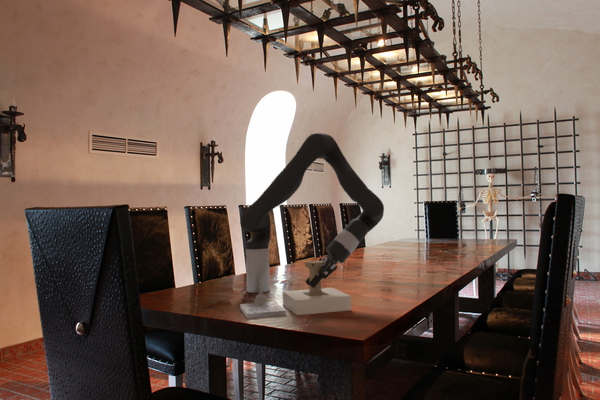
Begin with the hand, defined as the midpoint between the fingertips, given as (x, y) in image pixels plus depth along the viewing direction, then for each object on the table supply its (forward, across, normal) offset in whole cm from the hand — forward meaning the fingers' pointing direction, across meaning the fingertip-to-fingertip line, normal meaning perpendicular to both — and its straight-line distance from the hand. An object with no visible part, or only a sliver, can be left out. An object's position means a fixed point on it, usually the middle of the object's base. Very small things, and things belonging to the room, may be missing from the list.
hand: (309, 284), depth 158 cm
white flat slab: (+17, 0, -6) cm, 18 cm away
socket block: (+4, 0, +7) cm, 8 cm away
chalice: (+15, -18, -4) cm, 24 cm away
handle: (+4, 0, +7) cm, 8 cm away
